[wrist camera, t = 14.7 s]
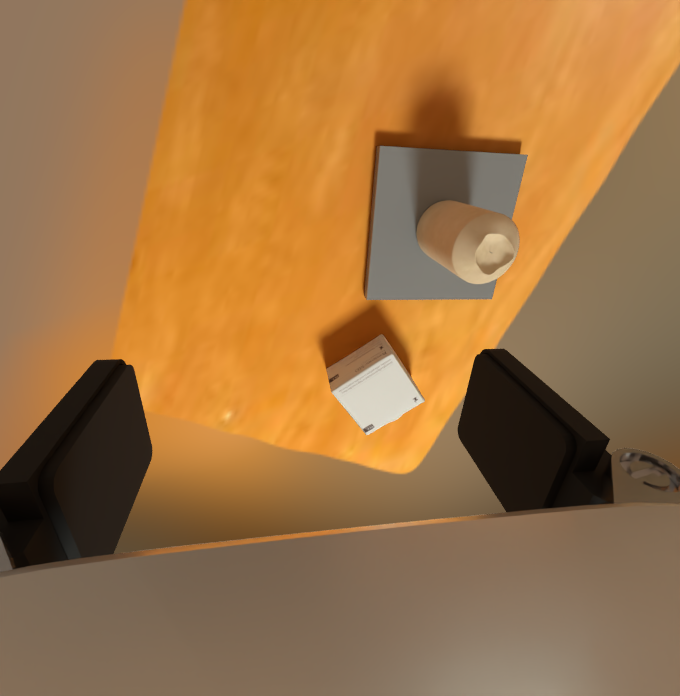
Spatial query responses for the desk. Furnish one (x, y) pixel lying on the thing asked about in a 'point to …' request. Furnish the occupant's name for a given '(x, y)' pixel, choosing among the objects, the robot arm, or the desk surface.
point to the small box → (373, 385)
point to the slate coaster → (414, 199)
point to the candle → (468, 240)
